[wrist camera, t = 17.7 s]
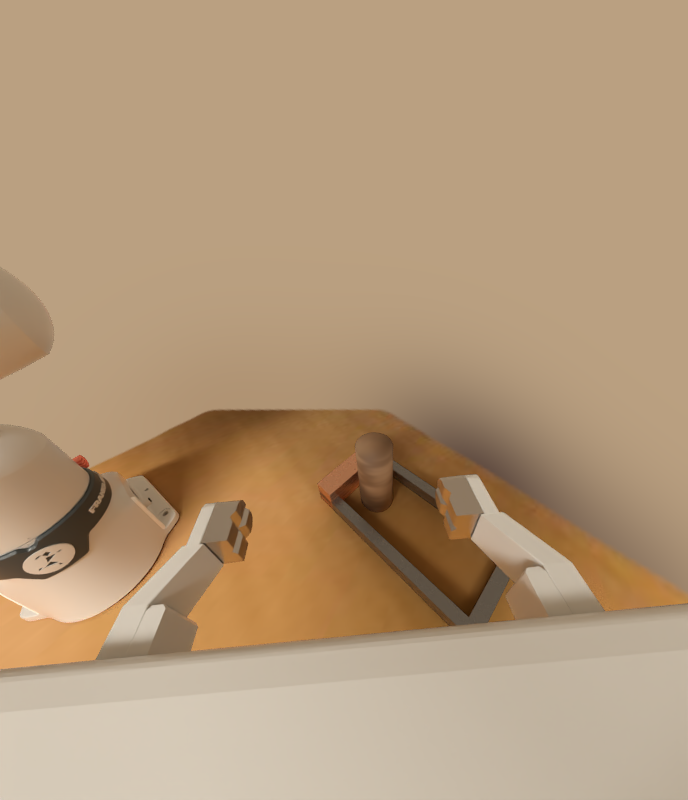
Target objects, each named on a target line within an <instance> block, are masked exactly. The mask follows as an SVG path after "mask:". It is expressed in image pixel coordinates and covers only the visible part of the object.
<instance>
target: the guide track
mask: <svg viewBox="0 0 688 800" xmlns="http://www.w3.org/2000/svg"><path fill="white" fill-rule="evenodd" d="M393 477H394V478H395V479H397V480H398V481H399V482H401V483H402V484H404V485H405V486H406V487H408V488H409V489H411V490H412V491H413V492H415V493H416V494H418V495H419V496H420V497H422V498H423V499H424V500H426V501H427V502H429V503H430V504H431V505H433V506H434V507H436V508H437V509H438V507H437V504H436V499H435V491H436V489H435V488H434V487H432V486H431V485H429V484H428V483H426V482H425V481H423V480H422V479H420V478H419V477H417V476H416V475H414V474H413V473H411V472H410V471H408V470H407V469H405V468H404V467H402V466H401V465H399V464H398V463H396V462H395V461H393ZM317 484H318V488H319V491H320V495H321V498H322V499H323V500H324V501H325V502H326V503H327V504H328V505H329V506H330V507H331V508H332V509H333V510H334V511H335V512H336V513H337V514H338V515H339V516H340V517H341V518H342V519H343V520H344V521H345V522H346V523H347V524H348V525H349V526H350V527H351V528H352V529H353V530H354V531H355V532H356V533H357V534H358V535H359V536H360V537H361V538H362V539H363V540H364V541H365V542H366V543H367V544H368V545H369V546H370V547H371V548H372V549H373V550H374V551H375V552H376V553H377V554H378V555H379V556H380V557H381V558H382V559H383V560H384V561H385V562H386V563H387V564H388V565H389V566H390V567H391V568H392V569H393V570H394V571H395V572H396V573H397V574H398V575H399V576H400V577H401V578H402V579H403V580H404V581H405V582H406V583H407V584H408V585H409V586H410V587H411V588H412V589H413V590H414V591H415V592H416V593H417V594H418V595H419V596H420V597H421V598H422V599H423V600H424V601H425V602H426V603H427V604H428V605H429V606H430V607H431V608H432V609H433V610H434V611H435V612H436V613H437V614H438V615H439V616H440V617H441V618H442V619H443V620H444V621H445V622H446V623H447V624H448V625H449V626H458V625H468V624H479V623H488V621H489V619H490V617H491V615H492V613H493V611H494V609H495V607H496V605H497V603H498V601H499V599H500V597H501V595H502V593H503V591H504V589H505V587H506V585H507V583H508V581H509V579H510V578H509V577H508V576H507V575H506V574H505V573H504V572H503V571H502V570H501V569H500V568H499V567H498V566H496V567H495V569H494V571H493V573H492V575H491V577H490V579H489V580H488V582H487V584H486V586H485V588H484V590H483V591H482V593H481V595H480V597H479V599H478V601H477V602H476V604H475V606H474V608H473V610H472V612H471V613H470V615H469V617H468V616H467V615H466V614H465V613H464V612H463V611H462V610H460V609H459V608H458V607H457V606H456V605H455V604H454V603H453V602H452V601H451V600H450V599H449V598H448V597H446V596H445V595H444V594H443V593H442V592H441V591H440V590H439V589H438V588H437V587H436V586H435V585H434V584H433V583H431V582H430V581H429V580H428V579H427V578H426V577H425V576H424V575H423V574H422V573H421V572H420V571H419V570H417V569H416V568H415V567H414V566H413V565H412V564H411V563H410V562H409V561H408V560H407V559H406V558H405V557H404V556H402V555H401V554H400V553H399V552H398V551H397V550H396V549H395V548H394V547H393V546H392V545H391V544H390V543H389V542H387V541H386V540H385V539H384V538H383V537H382V536H381V535H380V534H379V533H378V532H377V531H376V530H375V529H373V528H372V527H371V526H370V525H369V524H368V523H367V522H366V521H365V520H364V519H363V518H362V517H361V516H360V515H358V514H357V513H356V512H355V511H354V510H353V509H352V508H351V507H350V506H349V505H348V504H347V503H346V502H344V501H343V500H345V499H346V498H347V497H348V496H349V495H350V494H351V493H352V492H353V491H354V490H355V489H356V488H358V487H359V477H358V468H357V460H356V452H355V453H354V454H352V455H351V456H350V457H349V458H348V459H346V460H345V461H344V462H343V463H342V464H340V465H339V466H338V467H337V468H335V469H334V470H333V471H332V472H331V473H329V474H328V475H327V476H326V477H324V478H323V479H322V480H321V481H320V482H318V483H317Z"/></svg>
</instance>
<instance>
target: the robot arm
mask: <svg viewBox="0 0 688 800" xmlns="http://www.w3.org/2000/svg"><path fill="white" fill-rule="evenodd" d="M53 341H54V329H53V324H52V320H51V318H50V315H49V313H48V311H47V309H46V308H45V306H44V304H43V303H42V302H41V300H40V299H39V298H38V297H37V296H36V295H35V293H34V292H33V291H31V289H30V288H29V287H27V286H26V285H25V284H24V283H23V282H21V281H20V280H19V279H18V278H16V277H15V276H13V275H12V274H10V273H9V272H7V271H6V270H4V269H2V268H1V267H0V379H2V378H4V377H6V376H8V375H10V374H12V373H14V372H16V371H18V370H20V369H22V368H24V367H26V366H28V365H30V364H32V363H34V362H35V361H37V360H39V359H41V358H43V357H45V356H46V355H48V354H49V353H50V351H51V348H52V345H53ZM87 467H89V463H88V462H87V460H86V459H85V458H84V457H83V456H81V455H79V456H77V457H75V458H74V459H71V458H70V457H69V456H68V455H67V454H66V453H64V452H63V451H62V450H61V449H60V448H59V447H58V446H56V445H55V444H54V443H53V442H52V441H51V440H50V439H48V438H47V437H46V436H45V435H44V434H42V433H40V432H37V431H35V430H32V429H28V428H24V427H20V426H13V425H3V424H0V595H2V596H4V597H5V598H7V599H9V600H11V601H13V602H15V603H17V604H19V605H21V606H23V607H22V609H21V612H20V617H21V618H23V619H24V620H26V621H35V620H39V619H44V618H52V619H55V620H57V621H60V622H77V621H81V620H85V619H87V618H90V617H92V616H95V615H97V614H99V613H100V612H102V611H104V610H106V609H107V608H109V607H110V606H112V605H113V604H115V603H116V602H118V601H119V600H120V599H121V598H123V597H124V596H125V595H126V594H127V593H128V592H130V591H131V590H132V589H133V588H134V587H135V586H136V585H137V584H138V583H139V582H140V580H141V579H142V578H143V577H144V576H145V575H146V573H147V572H148V571H149V569H150V568H151V567H152V565H153V564H154V562H155V560H156V559H157V557H158V555H159V553H160V551H161V548H162V546H163V543H164V541H165V538H166V536H167V535H168V533H169V532H170V531H171V529H172V528H173V527H174V525H175V524H176V522H177V521H178V519H179V514H178V512H177V511H176V510H175V509H174V508H173V507H172V506H171V505H170V504H169V502H168V501H167V500H166V499H165V498H164V497H163V496H162V495H161V494H160V493H159V492H158V490H157V489H156V488H155V487H154V486H153V485H152V484H151V483H150V482H149V481H148V480H147V479H146V478H145V477H144V476H136V477H132V478H129V479H125V478H123V477H122V476H121V475H120V474H119V473H118V472H107V473H103V474H99V473H97V472H95V471H91V470H90V469H88V468H87ZM437 485H438V488H437V489H436V491H435V499H436V504H437V507H438V510H439V513H441V514H442V515H443V516H444V522H443V524H444V527H445V529H446V532H447V535H448V537H449V540H451V539H464V538H471V540H472V541H473V542H474V543H475V544H476V545H477V546H478V547H479V548H480V549H481V550H482V551H483V552H484V553H485V554H486V555H487V556H488V557H489V558H490V559H491V560H492V561H493V562H494V563H495V564H496V565H497V566H498V567H499V568H500V569H501V570H502V571H503V572H504V573H505V574H506V575H507V576H508V577H509V578H510V579H511V580H512V581H513V582H514V584H513V586H512V587H511V588H510V589H509V591H508V592H507V594H506V596H505V597H506V599H507V602H508V604H509V606H510V608H511V611H512V613H513V615H514V617H515V619H516V620H510V621H499V622H489V623H479V624H468V625H458V626H447V627H437V628H426V629H416V630H405V631H395V632H385V633H374V634H364V635H353V636H343V637H332V638H322V639H312V640H301V641H291V642H280V643H270V644H259V645H249V646H238V647H228V648H218V649H207V650H197V651H191V648H192V645H193V641H194V638H195V635H196V631H197V628H198V626H197V624H196V623H195V622H193V621H192V620H190V619H188V618H187V616H188V615H189V613H190V612H191V610H192V609H193V607H194V606H195V605H196V603H197V602H198V600H199V599H200V598H201V596H202V595H203V593H204V592H205V591H206V589H207V588H208V586H209V585H210V584H211V582H212V581H213V579H214V578H215V577H216V575H217V574H218V572H219V571H220V570H221V568H222V567H223V564H225V563H233V562H240V561H244V559H245V555H246V551H247V546H248V542H247V540H246V538H247V536H248V535H249V534H250V533H251V529H252V514H251V512H250V510H248V509H246V508H245V505H246V504H245V502H244V501H243V500H238V501H229V502H217V503H209V504H205V505H204V506H203V507H202V509H201V511H200V514H199V516H198V519H197V521H196V523H195V526H194V528H193V530H192V533H191V535H190V538H189V540H188V542H187V545H186V546H182V547H181V548H180V549H179V550H178V551H177V552H176V553H175V554H174V555H173V556H172V557H171V558H170V559H169V560H168V561H167V562H166V563H165V564H164V565H163V566H162V567H161V568H160V569H159V570H158V572H157V573H156V574H155V575H154V576H153V577H152V578H151V579H150V580H149V581H148V582H147V583H146V584H145V585H144V586H143V587H142V588H141V589H140V590H139V591H138V592H137V593H136V594H135V595H134V596H133V597H132V598H131V599H130V600H129V601H128V602H127V603H126V604H125V605H124V606H123V607H122V609H121V611H120V613H119V615H118V617H117V619H116V621H115V623H114V625H113V627H112V629H111V631H110V633H109V635H108V637H107V639H106V640H105V642H104V644H103V646H102V648H101V650H100V652H99V654H98V656H97V658H96V660H92V661H82V662H71V663H61V664H51V665H40V666H30V667H19V668H9V669H0V800H688V603H687V604H677V605H666V606H656V607H646V608H635V609H625V610H614V611H605V610H604V609H603V607H602V606H601V604H600V603H599V602H598V600H597V599H596V597H595V596H594V594H593V593H592V591H591V590H590V588H589V587H588V585H587V584H586V583H585V581H584V580H583V578H582V577H581V575H580V574H579V572H578V571H577V569H576V568H575V566H574V565H573V564H572V562H571V561H569V560H568V559H567V558H565V557H564V556H562V555H561V554H560V553H558V552H557V551H556V550H554V549H553V548H552V547H550V546H549V545H547V544H546V543H545V542H543V541H542V540H541V539H539V538H538V537H537V536H535V535H534V534H532V533H531V532H530V531H528V530H527V529H526V528H524V527H523V526H522V525H520V524H519V523H517V522H516V521H515V520H513V519H512V518H511V517H509V516H508V515H507V514H505V513H504V512H499V511H498V509H497V507H496V506H495V504H494V502H493V500H492V499H491V497H490V495H489V493H488V492H487V490H486V488H485V486H484V485H483V483H482V481H481V479H480V477H479V476H478V475H477V474H471V475H460V476H452V477H445V478H439V479H438V480H437Z"/></svg>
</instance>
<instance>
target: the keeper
mask: <svg viewBox="0 0 688 800" xmlns="http://www.w3.org/2000/svg"><path fill="white" fill-rule="evenodd" d="M355 451H356V460H357V468H358V477H359V486H360V494H361V501H362V504H363V505H364V507H365V508H367V509H368V510H370V511H373V512H382V511H384V510H386V509H388V508H389V507H390V505H391V503H392V493H393V443H392V441H391V439H390V438H389V437H387V436H386V435H384V434H381V433H376V432H373V433H367V434H364V435H362V436H361V437H360V438H359V439H358V440H357V441H356V444H355Z"/></svg>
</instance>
